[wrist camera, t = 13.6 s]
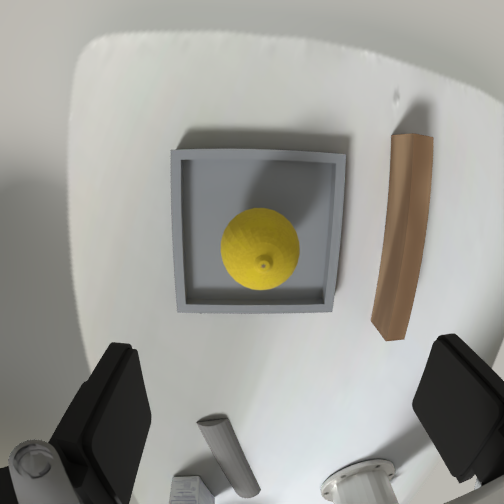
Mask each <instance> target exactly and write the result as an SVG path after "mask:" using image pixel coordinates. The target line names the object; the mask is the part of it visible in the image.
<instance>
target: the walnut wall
mask: <svg viewBox="0 0 504 504" xmlns="http://www.w3.org/2000/svg"><path fill="white" fill-rule="evenodd" d="M432 164H433V137H429V136H424V135H419V134H414V133H412V134H400V135H391V160H390V178H389V192H388V204H387V215H386V225H385V233H384V242H383V250H382V257H381V264H380V271H379V277H378V283H377V289H376V295H375V301H374V306H373V312H372V317H371V322H372V323H373V324H374V326H375V327H376V328H377V330H378V331H379V333H380V334H381V335H382V337H383V338H384V339H385V341H393V340H402V339H404V338H405V334H406V331H407V327H408V323H409V319H410V315H411V310H412V306H413V302H414V297H415V292H416V288H417V283H418V278H419V272H420V267H421V261H422V255H423V249H424V243H425V236H426V229H427V221H428V212H429V203H430V192H431V180H432Z"/></svg>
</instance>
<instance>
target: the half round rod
mask: <svg viewBox="0 0 504 504" xmlns="http://www.w3.org/2000/svg"><path fill="white" fill-rule="evenodd" d="M197 425H198V427H199V428H200V430H201V432H202V434H203V436H204V438H205V440H206V442H207V443H208V445H209V447H210V449H211V451H212V453H213V454H214V456H215V458H216V460H217V461H218V463H219V465H220V467H221V468H222V470H223V472H224V473H225V475H226V477H227V479H228V480H229V482H230V484H231V485H232V487H233V488H234V490H235V492H236V493H237V494H238V495H239V496H240V497H243V498H252V497H254V496H256V495H257V494H259V492H260V490H261V489H260V487H259V485H258V483H257V481H256V479H255V477H254V475H253V473H252V471H251V469H250V466H249V464H248V462H247V460H246V458H245V456H244V453H243V451H242V449H241V447H240V445H239V442H238V440H237V438H236V435H235V433H234V431H233V429H232V426H231V424H230V422H229V419H219V420H211V421H203V422H198V423H197Z"/></svg>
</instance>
